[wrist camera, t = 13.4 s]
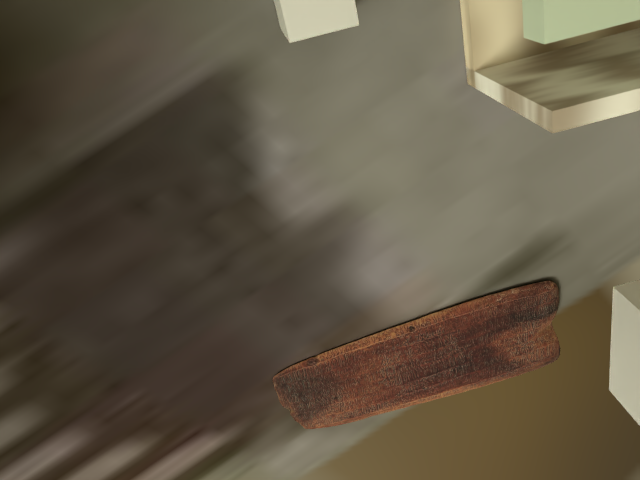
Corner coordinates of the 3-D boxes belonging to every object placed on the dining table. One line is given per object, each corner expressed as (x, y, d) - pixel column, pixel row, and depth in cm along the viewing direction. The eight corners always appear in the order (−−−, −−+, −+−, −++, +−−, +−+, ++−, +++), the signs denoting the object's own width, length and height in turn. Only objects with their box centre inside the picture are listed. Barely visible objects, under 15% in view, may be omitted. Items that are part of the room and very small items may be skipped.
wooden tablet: (296, 448, 53) (265, 380, 48) (293, 428, 55) (263, 361, 49) (566, 364, 54) (568, 286, 48) (554, 347, 55) (554, 270, 50)
